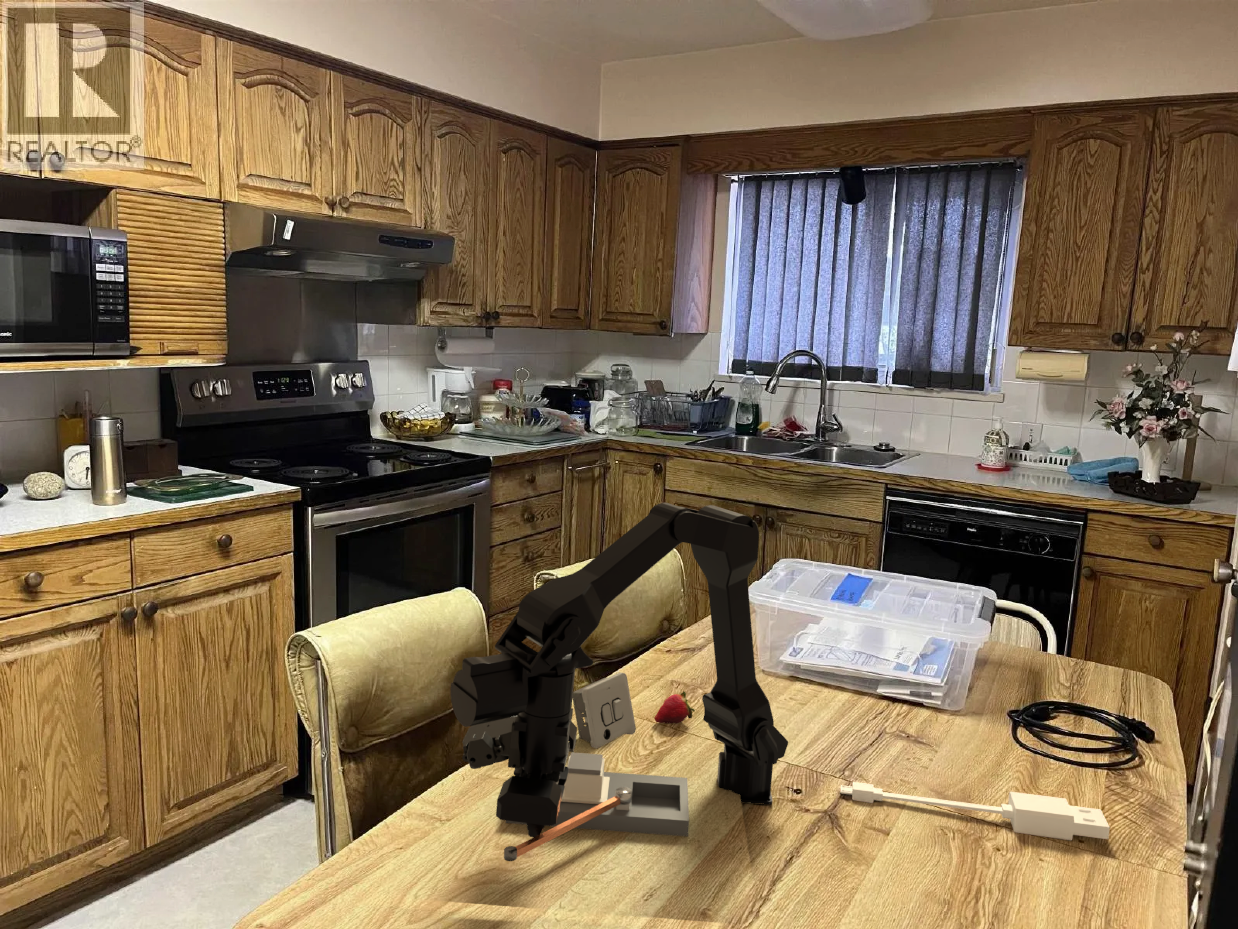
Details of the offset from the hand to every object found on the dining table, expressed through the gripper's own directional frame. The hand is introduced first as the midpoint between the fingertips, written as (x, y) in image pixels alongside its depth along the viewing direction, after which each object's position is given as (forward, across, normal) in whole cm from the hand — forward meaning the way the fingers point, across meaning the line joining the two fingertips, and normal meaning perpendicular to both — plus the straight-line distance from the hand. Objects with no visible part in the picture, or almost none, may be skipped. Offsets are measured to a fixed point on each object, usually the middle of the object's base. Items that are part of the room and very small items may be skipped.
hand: (533, 836), depth 102 cm
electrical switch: (+4, -32, +5) cm, 33 cm away
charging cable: (+2, -19, +55) cm, 58 cm away
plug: (+3, -12, +5) cm, 13 cm away
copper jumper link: (0, -3, +4) cm, 5 cm away
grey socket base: (+4, -12, +7) cm, 14 cm away
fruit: (+4, -39, +16) cm, 42 cm away
